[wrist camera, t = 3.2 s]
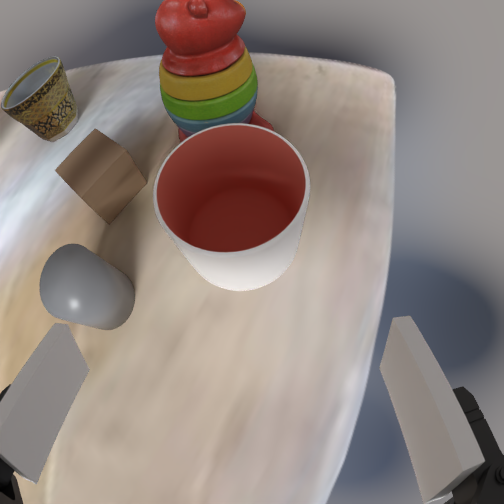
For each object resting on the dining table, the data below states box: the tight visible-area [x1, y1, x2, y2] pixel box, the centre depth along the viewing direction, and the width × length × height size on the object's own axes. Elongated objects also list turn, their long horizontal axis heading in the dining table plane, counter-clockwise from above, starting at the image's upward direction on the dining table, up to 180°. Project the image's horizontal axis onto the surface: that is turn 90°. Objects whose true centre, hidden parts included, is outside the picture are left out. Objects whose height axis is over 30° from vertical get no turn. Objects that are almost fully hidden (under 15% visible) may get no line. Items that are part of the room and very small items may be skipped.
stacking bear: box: [155, 0, 275, 142], centre depth 24 cm, size 11×10×18 cm
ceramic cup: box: [1, 56, 78, 142], centre depth 31 cm, size 13×10×10 cm
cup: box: [153, 123, 310, 291], centre depth 23 cm, size 10×10×10 cm
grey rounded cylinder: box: [40, 244, 135, 330], centre depth 24 cm, size 6×6×7 cm
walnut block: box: [55, 129, 147, 224], centre depth 28 cm, size 6×6×6 cm
